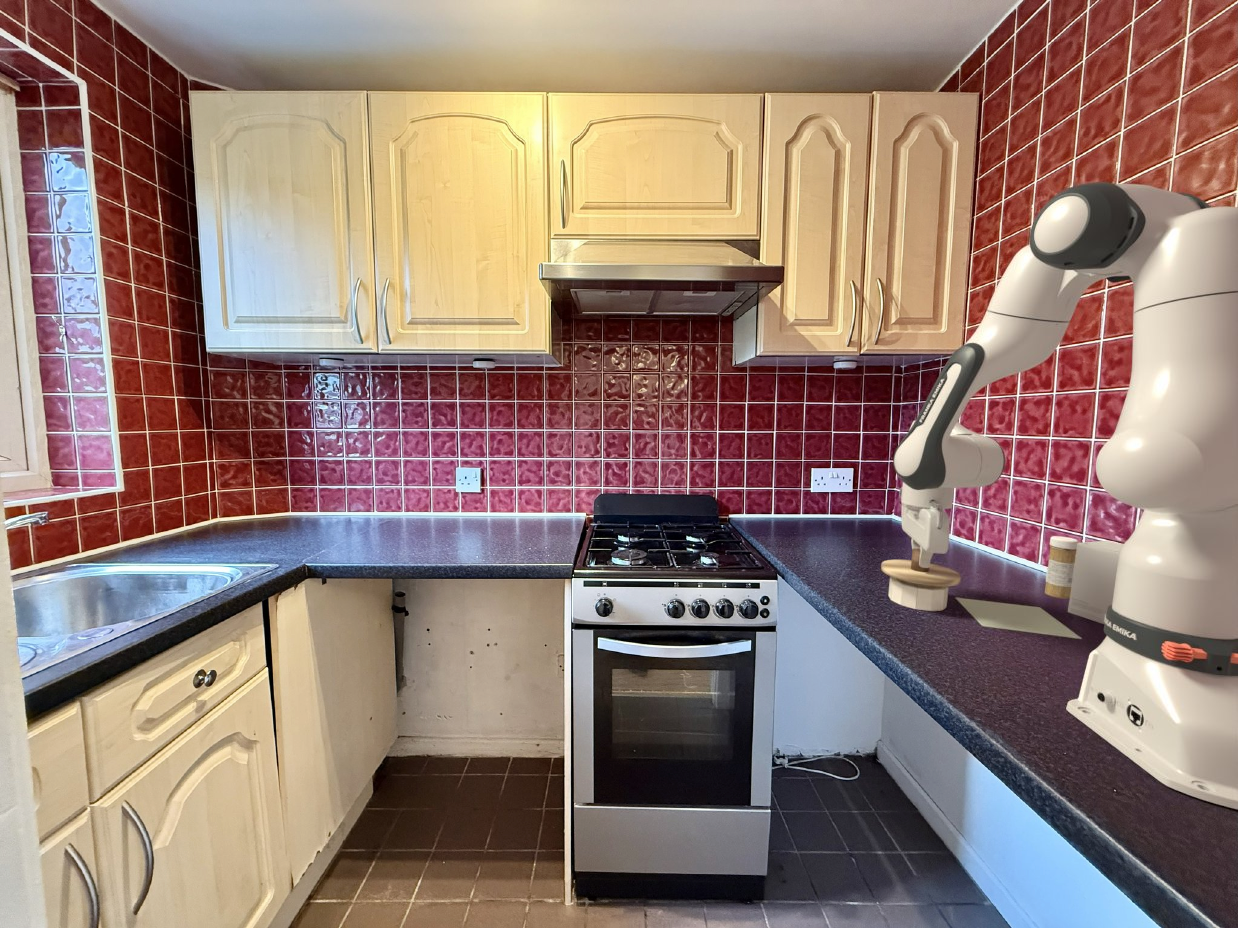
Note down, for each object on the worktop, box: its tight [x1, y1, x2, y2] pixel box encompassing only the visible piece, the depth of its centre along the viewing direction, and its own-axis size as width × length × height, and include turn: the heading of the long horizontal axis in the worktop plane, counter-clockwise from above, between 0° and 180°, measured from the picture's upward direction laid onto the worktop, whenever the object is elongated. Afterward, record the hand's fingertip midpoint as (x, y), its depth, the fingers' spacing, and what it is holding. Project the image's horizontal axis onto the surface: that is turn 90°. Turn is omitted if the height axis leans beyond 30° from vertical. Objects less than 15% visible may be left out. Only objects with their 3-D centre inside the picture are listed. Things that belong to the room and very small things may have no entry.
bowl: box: [888, 576, 949, 612], centre depth 105 cm, size 10×10×5 cm
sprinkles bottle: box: [1044, 535, 1079, 600], centre depth 110 cm, size 5×5×13 cm
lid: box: [880, 548, 962, 587], centre depth 104 cm, size 14×14×5 cm
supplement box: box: [1067, 540, 1124, 625], centre depth 98 cm, size 9×9×15 cm
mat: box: [955, 597, 1083, 640], centre depth 98 cm, size 15×15×1 cm
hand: (920, 563), depth 104 cm, fingers closed on lid, 3 cm apart
